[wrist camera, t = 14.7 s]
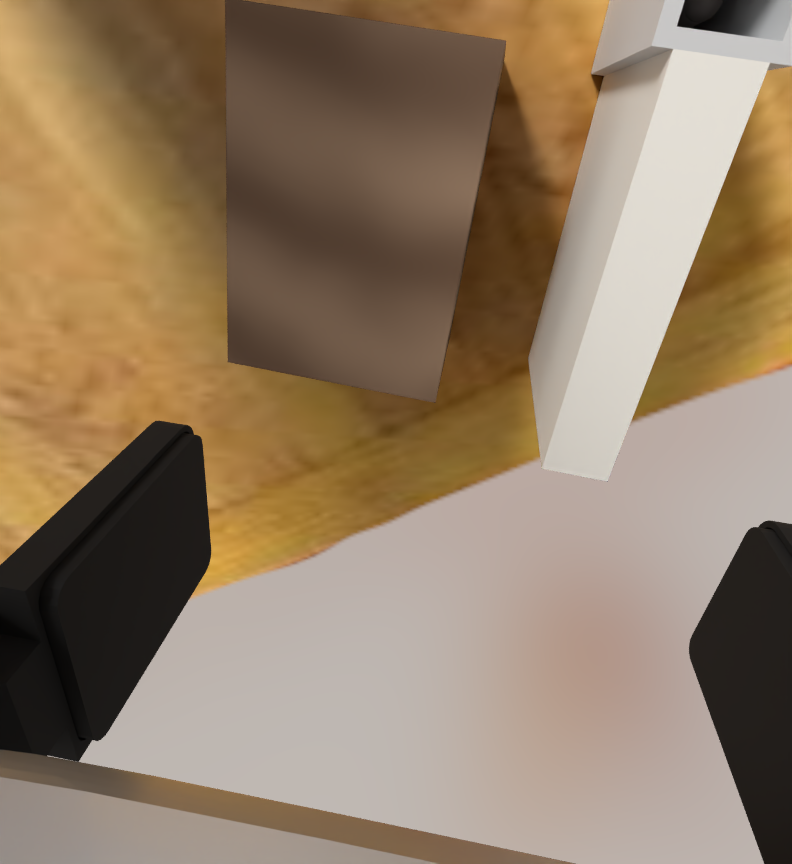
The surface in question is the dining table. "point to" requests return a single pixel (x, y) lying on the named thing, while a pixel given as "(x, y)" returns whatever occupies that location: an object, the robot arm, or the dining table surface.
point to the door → (641, 211)
